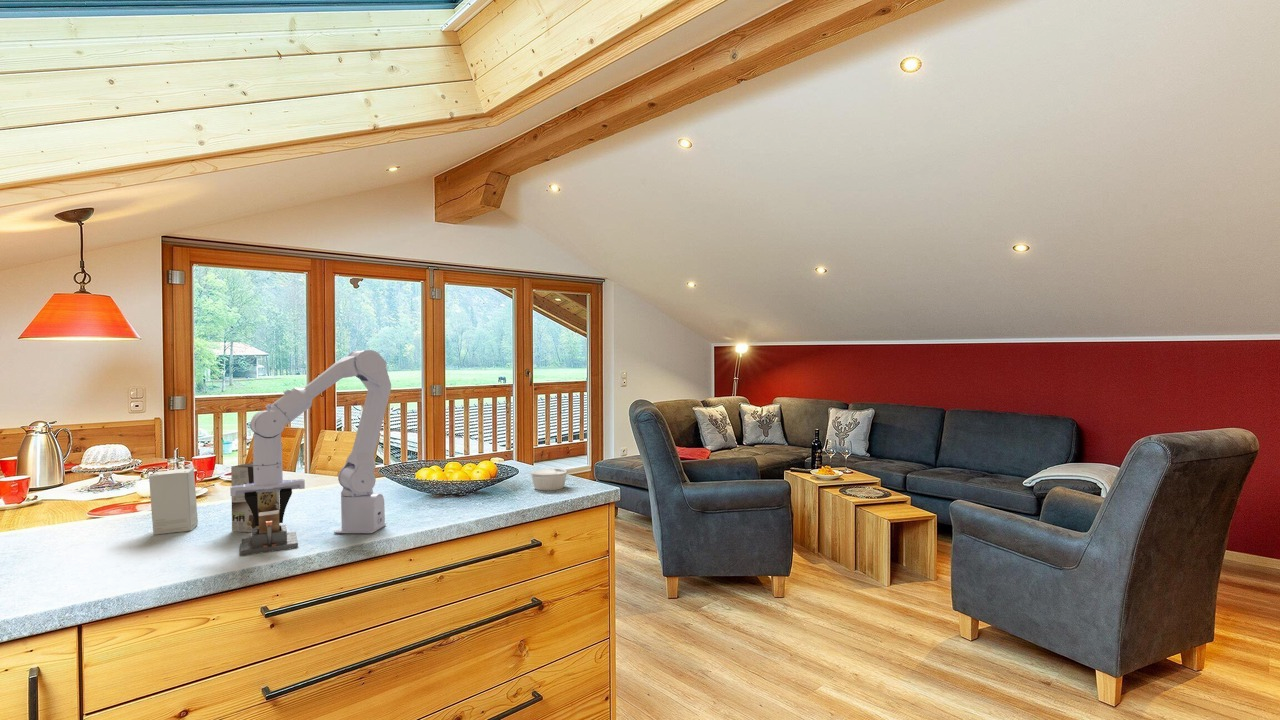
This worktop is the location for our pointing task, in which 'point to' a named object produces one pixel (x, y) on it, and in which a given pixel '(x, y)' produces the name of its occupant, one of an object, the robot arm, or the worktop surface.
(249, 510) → the coffee box
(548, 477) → the ramekin
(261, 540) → the sleeve stand
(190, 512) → the skincare box
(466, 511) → the worktop surface
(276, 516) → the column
